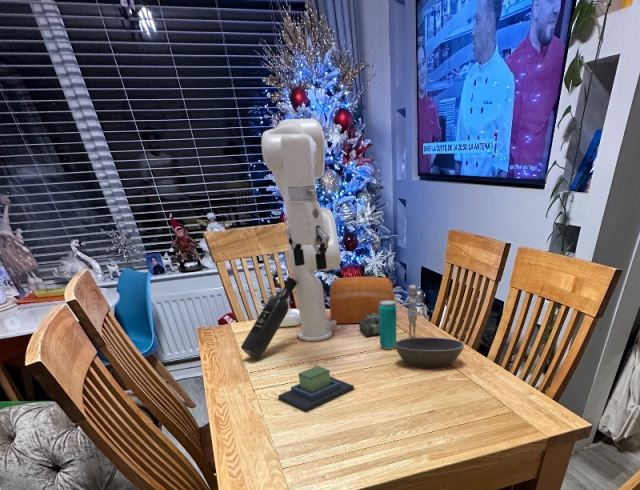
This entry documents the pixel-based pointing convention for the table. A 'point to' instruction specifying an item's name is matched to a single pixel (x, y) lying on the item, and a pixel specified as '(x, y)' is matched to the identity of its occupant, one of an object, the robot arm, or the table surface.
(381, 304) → the beverage can
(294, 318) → the earbud case
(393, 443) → the table surface
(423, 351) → the bowl
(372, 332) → the toy tank
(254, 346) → the wine bottle
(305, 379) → the green block
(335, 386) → the black pad
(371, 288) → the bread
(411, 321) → the human figurine
